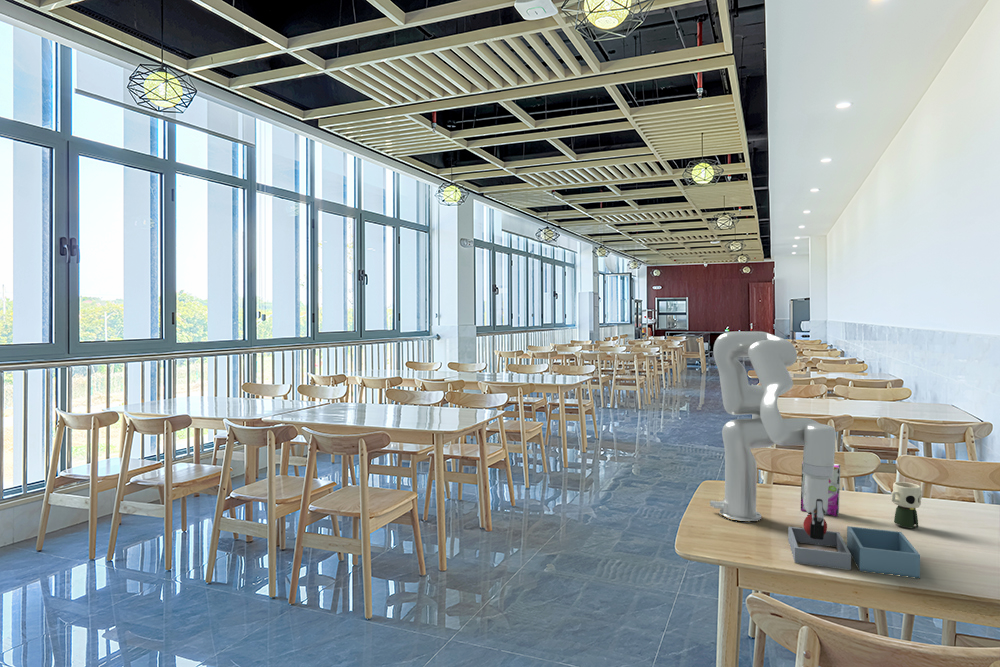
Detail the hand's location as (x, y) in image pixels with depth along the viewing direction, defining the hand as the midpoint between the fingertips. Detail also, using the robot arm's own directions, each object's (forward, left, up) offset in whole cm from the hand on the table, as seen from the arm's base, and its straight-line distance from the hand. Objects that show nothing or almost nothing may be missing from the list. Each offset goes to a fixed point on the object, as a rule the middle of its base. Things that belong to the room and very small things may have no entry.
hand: (814, 533), depth 166 cm
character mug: (+30, +33, -6) cm, 45 cm away
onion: (0, 0, -2) cm, 2 cm away
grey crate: (+1, -1, -5) cm, 6 cm away
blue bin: (+16, -1, -5) cm, 17 cm away
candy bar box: (+7, +39, -6) cm, 40 cm away
